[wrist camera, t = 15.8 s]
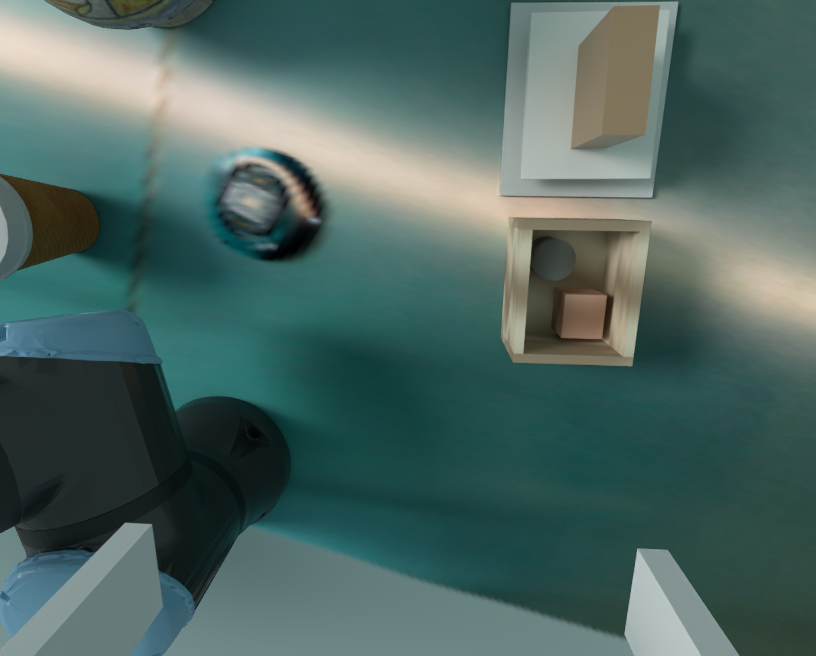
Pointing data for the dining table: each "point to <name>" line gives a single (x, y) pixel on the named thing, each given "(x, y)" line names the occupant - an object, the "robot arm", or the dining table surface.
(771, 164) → the dining table surface
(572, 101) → the lid
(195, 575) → the robot arm
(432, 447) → the dining table surface
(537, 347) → the crate
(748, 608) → the dining table surface
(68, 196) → the disposable coffee cup
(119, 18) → the vase
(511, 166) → the tray
